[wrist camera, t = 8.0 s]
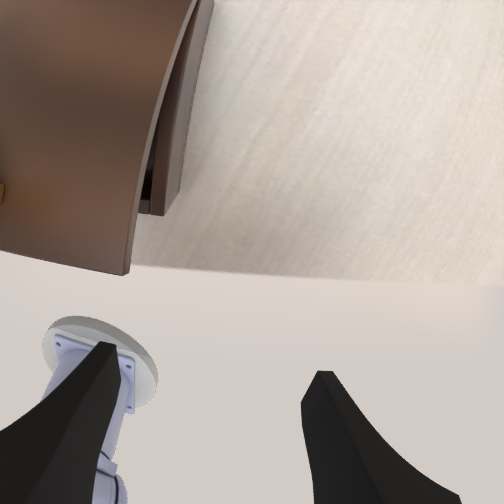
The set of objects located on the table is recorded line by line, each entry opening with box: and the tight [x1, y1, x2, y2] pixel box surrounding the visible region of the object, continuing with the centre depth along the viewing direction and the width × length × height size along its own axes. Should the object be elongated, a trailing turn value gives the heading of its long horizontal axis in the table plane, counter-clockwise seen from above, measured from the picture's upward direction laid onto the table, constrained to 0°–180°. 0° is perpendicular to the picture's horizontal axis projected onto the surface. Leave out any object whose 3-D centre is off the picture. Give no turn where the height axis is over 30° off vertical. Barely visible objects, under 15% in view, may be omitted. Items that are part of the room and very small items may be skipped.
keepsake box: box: [138, 0, 214, 216], centre depth 12 cm, size 11×14×4 cm
